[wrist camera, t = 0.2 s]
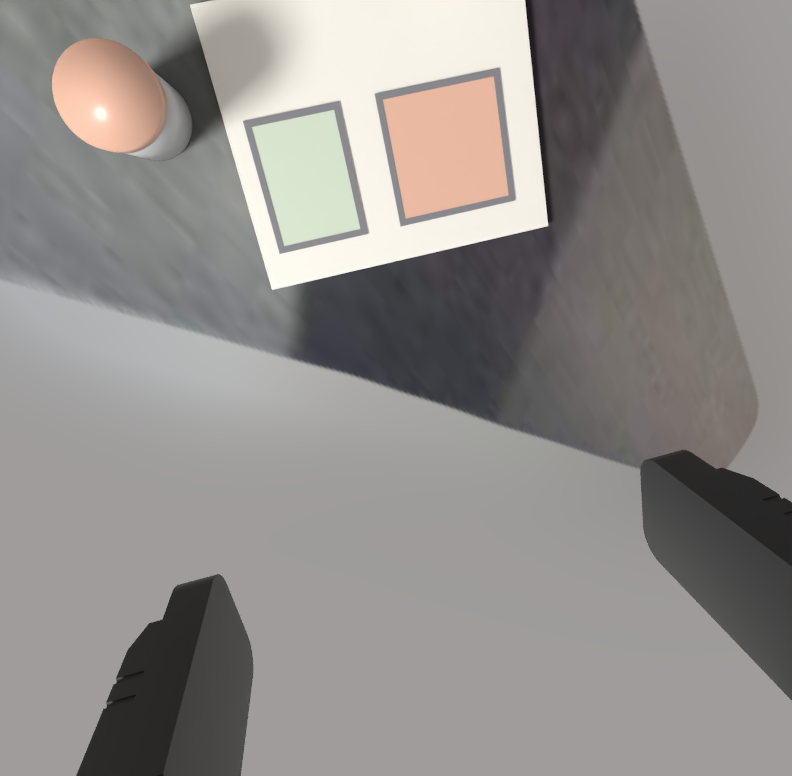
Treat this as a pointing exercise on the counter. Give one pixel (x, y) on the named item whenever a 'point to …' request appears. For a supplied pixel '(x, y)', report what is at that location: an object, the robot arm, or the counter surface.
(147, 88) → the peach-capped grey cylinder
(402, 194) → the picture board
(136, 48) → the counter surface
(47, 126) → the counter surface
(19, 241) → the counter surface
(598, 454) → the counter surface
